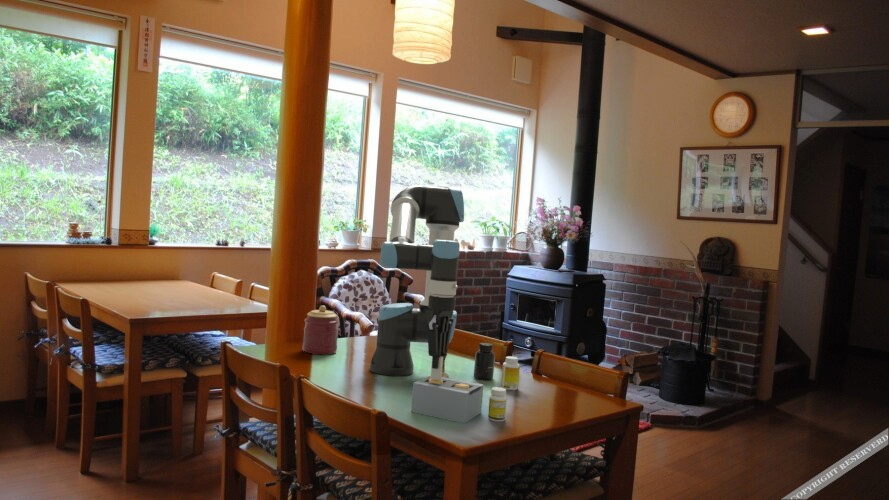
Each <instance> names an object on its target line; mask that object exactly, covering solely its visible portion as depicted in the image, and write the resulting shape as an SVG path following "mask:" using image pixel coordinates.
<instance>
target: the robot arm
mask: <svg viewBox="0 0 889 500" xmlns="http://www.w3.org/2000/svg"><path fill="white" fill-rule="evenodd" d="M464 203H465V202H464V194H463V191H462V189H460V188H457V187H452V186H438V185H424V184H416V185H411V186H408V187H406V188H404V189H402V190H401V191H400V192H398V193H397V194H396V195H395V196H394V198H393V200H392V201H391V205H390V214H391V216H392V220H391V227H390V235H389V241H383V242H382V243H381V248H380V266H381V267H383V268H391V269H398V270H400V269H402V270H416V271H426V275H425V286H424V289H425V291H424V299H422V300H421V301H420V302H419V306H418V307H419V308H415V307H414V304H413V303H410V302H408V303H406V302H397V303H396V302H395V303H388V304H384V305H382V306H381V307H379V310H378V318H377V321H378V323H377V333H376V334H377V335H376V345H375V346H376V347H375V350H374V352H373V355H372V357H371V360H370V363H369V371H370V372H372V373H375V374H378V375H384V376H392V377H393V376H394V377H395V376H396V377H397V376H398V377H401V376H409V375H412V374H413V373H414V361H413V356H412V353H411V352H412V351H411V343H423V344H424V343H425V344H427V347H428V348H427V349H428V352H427V353H428V356H429V357H431V368H430V376H431V379H433V380H438V381H440V380H442V367H443V356H446V357H447V356H448V354H445V353H448V350H449V345H450V343H451V341H452V340H453V337H454V333H455V327H456V323H457V316H458V312H457V311H456V310H455V309H456V300H457V299H456V297H455V296H456V295H457V289H458V287H459V286H458V285H457V283H458V272H459V271H458V270H459V259H460V253H461V252H460V243H459V242H458V241H457V240H455V232H456V230H458V229H459V228H460V223H463V222H464V221H465V204H464ZM417 219H418V220H419V219H420V220H425V226H426V227H427V228H428V230H429V233H428V234H429V235H428V244H420V243H415V235H416V223H417V222H416V221H417Z"/></svg>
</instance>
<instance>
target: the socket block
mask: <svg viewBox="0 0 889 500" xmlns="http://www.w3.org/2000/svg"><path fill="white" fill-rule="evenodd" d="M429 379H431V375H430V376H426V377H424V378H422V379H419V380H417V381H415V382H412V395H411V407H410V408H411V409H410V411H411V412H412V413H414V414H415V413H416V414H420V415H426V416H430V417H434V418H437V419H438V418H439V419H444V420H448V421H452V422H456V423H461V424H466V423H467V422H468V421H470V420H472V419H473V418H475V417H477V416H478V415H479V414H481V413H482V411H483V409H482V407H483V397H484V395H483V394H484V384H482V383H477V382H472V381H467V380H461V379H455V378H450V377H449V378H446V377H442V380H443V383H442V384H435V383H430V382H429ZM455 384H466V385H469V389H467V390H466V389H461V388H456V387H455Z"/></svg>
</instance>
